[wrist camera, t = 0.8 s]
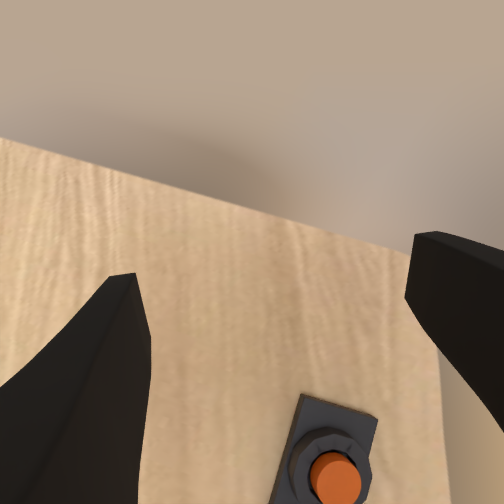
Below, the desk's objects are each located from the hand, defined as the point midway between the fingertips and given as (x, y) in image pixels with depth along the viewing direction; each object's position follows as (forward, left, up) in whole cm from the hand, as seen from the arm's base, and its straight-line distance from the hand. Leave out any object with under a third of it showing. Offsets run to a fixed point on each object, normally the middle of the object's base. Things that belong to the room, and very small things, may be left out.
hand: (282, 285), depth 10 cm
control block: (-11, -13, -25) cm, 30 cm away
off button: (-11, -13, -22) cm, 28 cm away
